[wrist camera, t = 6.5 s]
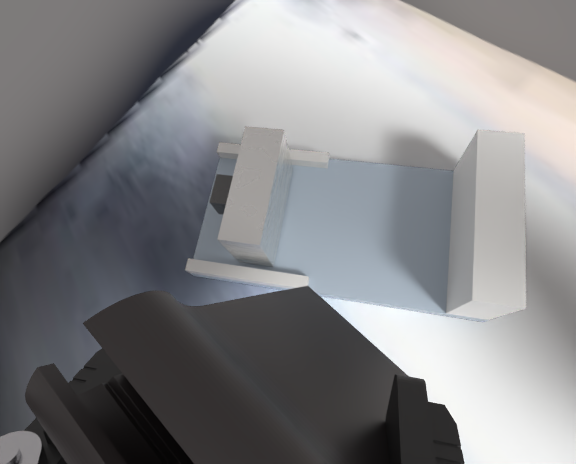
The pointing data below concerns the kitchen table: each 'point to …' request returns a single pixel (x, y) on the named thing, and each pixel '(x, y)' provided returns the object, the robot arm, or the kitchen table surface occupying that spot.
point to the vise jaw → (254, 197)
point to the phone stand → (223, 386)
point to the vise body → (394, 232)
